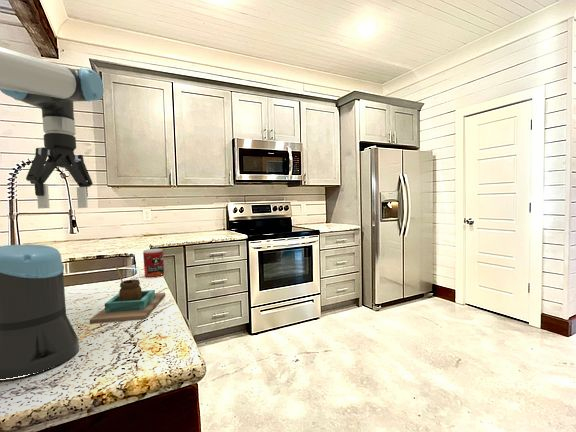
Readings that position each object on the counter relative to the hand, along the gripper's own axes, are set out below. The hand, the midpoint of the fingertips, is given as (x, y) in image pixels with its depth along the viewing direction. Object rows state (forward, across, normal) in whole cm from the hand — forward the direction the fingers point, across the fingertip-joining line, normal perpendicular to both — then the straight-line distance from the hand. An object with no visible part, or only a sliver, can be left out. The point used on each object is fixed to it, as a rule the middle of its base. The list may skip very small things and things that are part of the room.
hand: (64, 208), depth 90 cm
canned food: (+29, -41, +2) cm, 50 cm away
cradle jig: (+31, -3, +17) cm, 35 cm away
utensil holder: (+30, -3, +17) cm, 34 cm away
